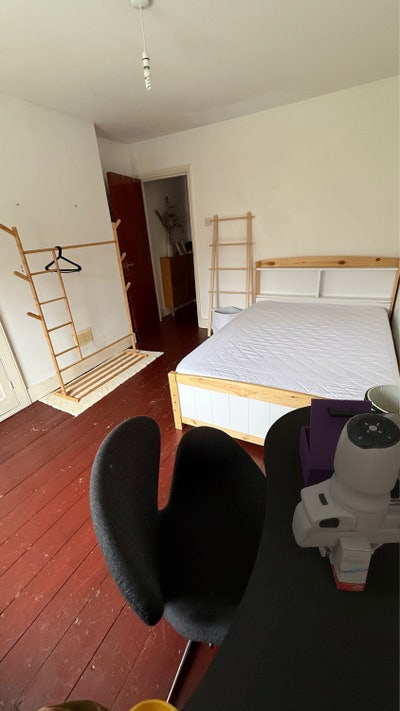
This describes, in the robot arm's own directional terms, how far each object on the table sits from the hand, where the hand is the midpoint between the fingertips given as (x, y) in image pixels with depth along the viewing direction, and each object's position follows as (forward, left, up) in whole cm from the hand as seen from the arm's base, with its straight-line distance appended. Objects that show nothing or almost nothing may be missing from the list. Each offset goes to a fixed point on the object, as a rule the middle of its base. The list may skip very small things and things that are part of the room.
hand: (345, 551), depth 56 cm
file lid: (-5, -19, +12) cm, 23 cm away
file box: (-6, -23, -5) cm, 24 cm away
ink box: (0, 0, -5) cm, 5 cm away
